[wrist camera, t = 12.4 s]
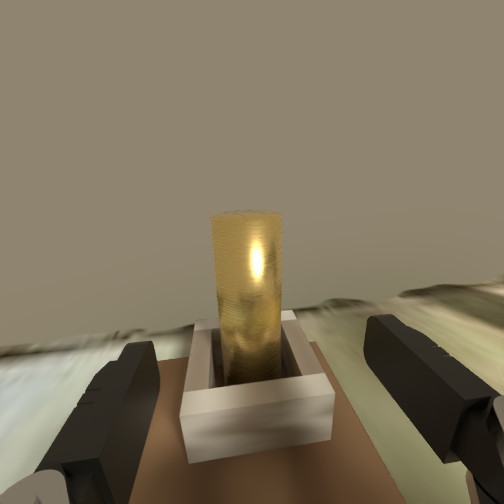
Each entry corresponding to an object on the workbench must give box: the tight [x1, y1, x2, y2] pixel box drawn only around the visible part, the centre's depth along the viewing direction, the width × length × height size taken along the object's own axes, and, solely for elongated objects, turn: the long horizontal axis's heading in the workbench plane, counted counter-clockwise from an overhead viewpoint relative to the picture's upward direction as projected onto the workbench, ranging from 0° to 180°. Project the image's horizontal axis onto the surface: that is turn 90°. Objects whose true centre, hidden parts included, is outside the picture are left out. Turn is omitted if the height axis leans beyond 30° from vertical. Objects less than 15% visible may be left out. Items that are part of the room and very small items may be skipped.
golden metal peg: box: [210, 210, 282, 387], centre depth 17 cm, size 4×4×14 cm
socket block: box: [129, 310, 407, 504], centre depth 15 cm, size 19×16×5 cm
